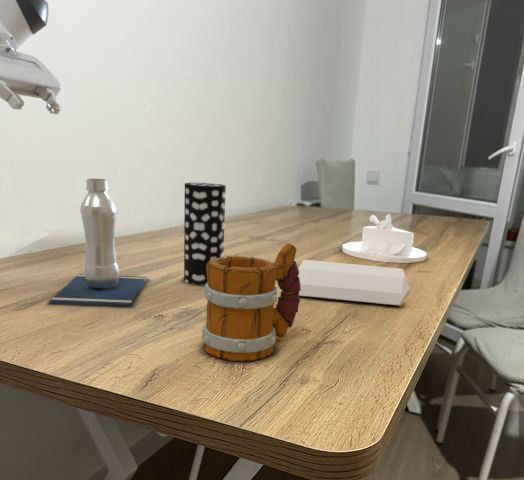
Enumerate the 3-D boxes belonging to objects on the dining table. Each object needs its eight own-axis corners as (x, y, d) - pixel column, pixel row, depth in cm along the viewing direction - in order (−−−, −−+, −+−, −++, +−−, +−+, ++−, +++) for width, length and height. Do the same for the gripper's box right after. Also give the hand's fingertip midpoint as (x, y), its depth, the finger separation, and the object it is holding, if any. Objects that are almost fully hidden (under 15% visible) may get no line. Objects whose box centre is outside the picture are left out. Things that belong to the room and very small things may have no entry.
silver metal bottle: (82, 291, 97) (74, 179, 90) (88, 282, 103) (81, 177, 96) (118, 292, 98) (113, 181, 91) (121, 283, 104) (117, 179, 97)
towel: (49, 304, 91) (49, 300, 91) (79, 276, 109) (79, 273, 109) (130, 307, 92) (130, 303, 92) (146, 279, 110) (146, 276, 110)
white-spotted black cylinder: (229, 283, 112) (233, 186, 104) (195, 287, 107) (197, 186, 100) (210, 274, 118) (212, 182, 110) (177, 278, 113) (177, 182, 106)
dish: (325, 249, 156) (329, 211, 151) (374, 243, 172) (379, 208, 167) (393, 266, 139) (400, 223, 135) (441, 257, 155) (449, 219, 151)
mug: (186, 342, 77) (187, 242, 72) (274, 327, 86) (281, 236, 81) (223, 368, 69) (227, 257, 64) (316, 348, 78) (327, 249, 73)
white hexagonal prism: (408, 279, 108) (294, 268, 111) (414, 268, 101) (292, 257, 104) (405, 313, 107) (290, 301, 110) (411, 305, 100) (288, 293, 103)
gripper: (22, 69, 102) (67, 126, 103) (-71, 49, 84) (-15, 117, 84) (39, 43, 99) (85, 102, 100) (-54, 16, 81) (4, 88, 82)
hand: (39, 109), depth 92 cm, fingers open, 8 cm apart
